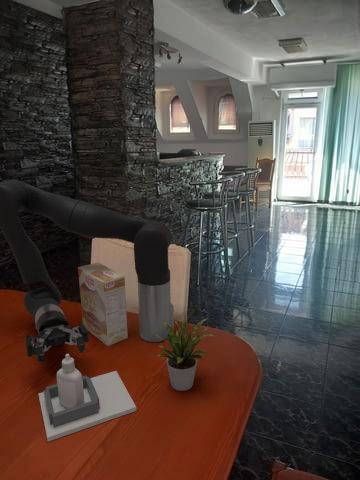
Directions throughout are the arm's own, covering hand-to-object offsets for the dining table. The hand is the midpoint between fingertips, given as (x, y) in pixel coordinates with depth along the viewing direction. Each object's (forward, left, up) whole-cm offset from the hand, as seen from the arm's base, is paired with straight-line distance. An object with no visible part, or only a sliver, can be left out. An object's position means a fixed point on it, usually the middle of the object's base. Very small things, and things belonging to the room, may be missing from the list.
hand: (62, 354), depth 83 cm
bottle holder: (-3, +7, -9) cm, 12 cm away
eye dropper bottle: (0, +7, -8) cm, 11 cm away
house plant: (-26, +11, -9) cm, 30 cm away
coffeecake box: (-15, -21, -9) cm, 27 cm away
